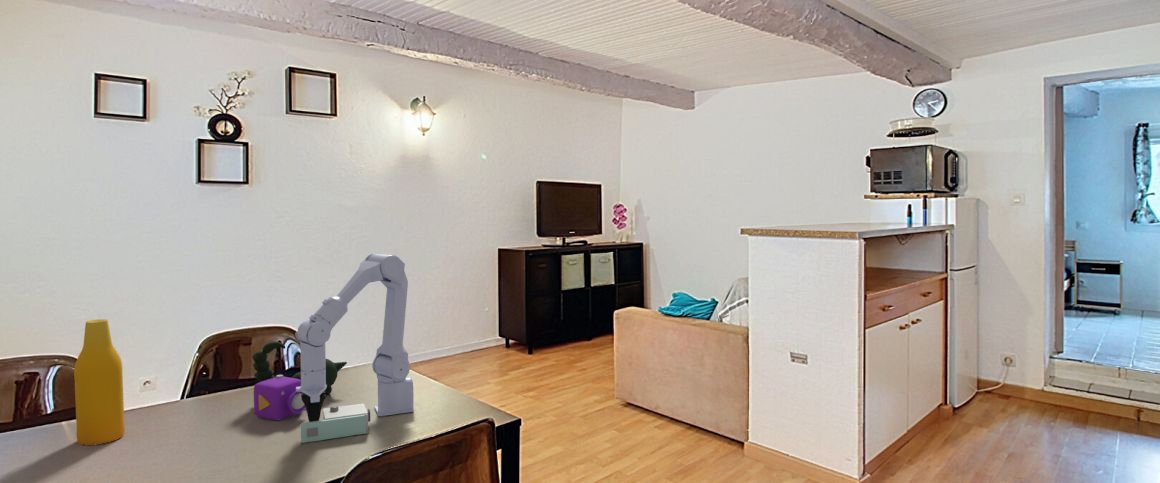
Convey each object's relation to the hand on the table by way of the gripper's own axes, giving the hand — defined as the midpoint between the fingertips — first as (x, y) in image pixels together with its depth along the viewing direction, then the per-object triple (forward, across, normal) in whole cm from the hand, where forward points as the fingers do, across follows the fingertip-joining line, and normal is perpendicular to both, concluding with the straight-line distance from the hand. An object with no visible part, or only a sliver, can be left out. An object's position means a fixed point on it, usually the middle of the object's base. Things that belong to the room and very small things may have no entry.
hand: (313, 422), depth 154 cm
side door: (+3, +6, +5) cm, 8 cm away
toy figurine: (+3, -31, -2) cm, 31 cm away
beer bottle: (+3, -17, -47) cm, 50 cm away
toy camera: (+3, -17, -7) cm, 19 cm away
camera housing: (+3, +1, +7) cm, 8 cm away
